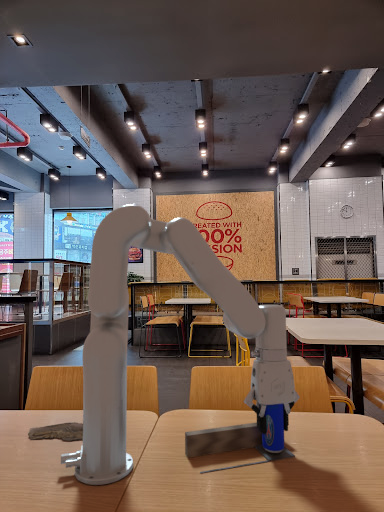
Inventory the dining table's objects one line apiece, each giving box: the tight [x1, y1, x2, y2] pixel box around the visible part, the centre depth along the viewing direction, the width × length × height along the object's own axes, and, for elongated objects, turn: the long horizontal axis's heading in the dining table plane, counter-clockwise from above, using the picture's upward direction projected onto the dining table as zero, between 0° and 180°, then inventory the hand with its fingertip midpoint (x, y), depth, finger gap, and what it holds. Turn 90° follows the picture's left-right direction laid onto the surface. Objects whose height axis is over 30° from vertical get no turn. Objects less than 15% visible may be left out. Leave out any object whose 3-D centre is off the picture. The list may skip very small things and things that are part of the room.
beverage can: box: [262, 404, 285, 453], centre depth 82 cm, size 5×5×15 cm
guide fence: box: [184, 421, 296, 474], centre depth 81 cm, size 26×9×5 cm, turn 106°
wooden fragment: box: [27, 421, 83, 442], centre depth 93 cm, size 26×11×1 cm, turn 84°
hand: (272, 429), depth 82 cm, fingers closed on beverage can, 5 cm apart
